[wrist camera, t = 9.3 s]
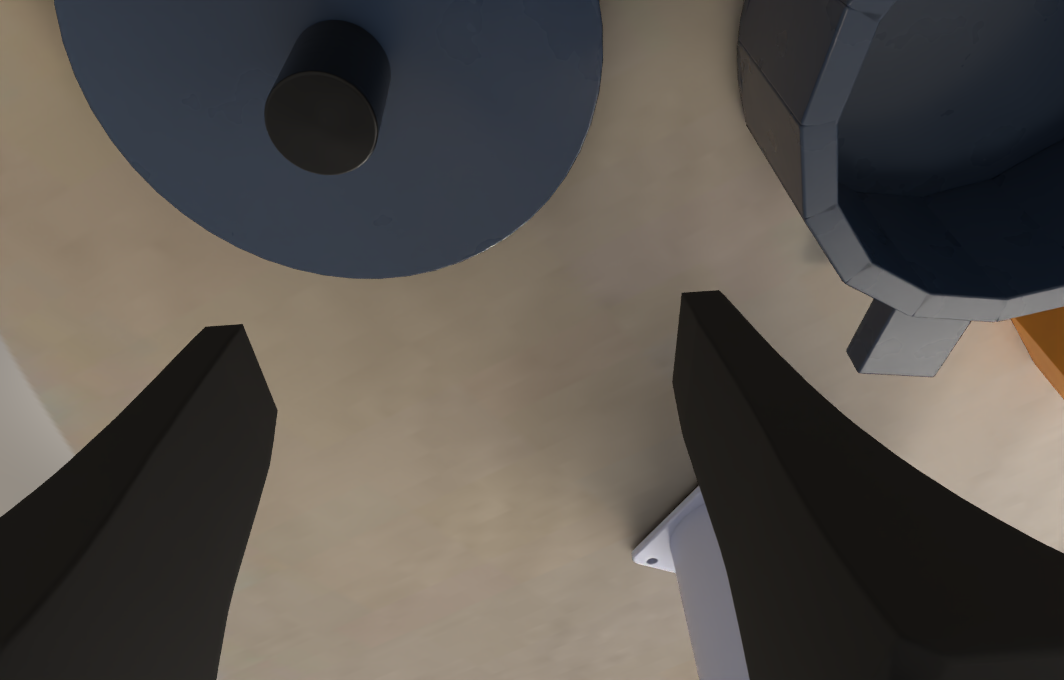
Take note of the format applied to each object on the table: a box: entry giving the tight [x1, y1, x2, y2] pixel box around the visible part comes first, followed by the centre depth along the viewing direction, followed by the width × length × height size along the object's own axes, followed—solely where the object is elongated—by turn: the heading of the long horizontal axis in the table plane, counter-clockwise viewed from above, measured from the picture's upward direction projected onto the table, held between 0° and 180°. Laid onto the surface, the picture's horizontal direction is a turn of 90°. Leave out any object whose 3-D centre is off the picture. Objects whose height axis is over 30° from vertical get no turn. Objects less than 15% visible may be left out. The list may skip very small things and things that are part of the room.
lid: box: [54, 0, 603, 279], centre depth 18 cm, size 13×13×4 cm
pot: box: [737, 0, 1064, 377], centre depth 17 cm, size 12×17×5 cm
